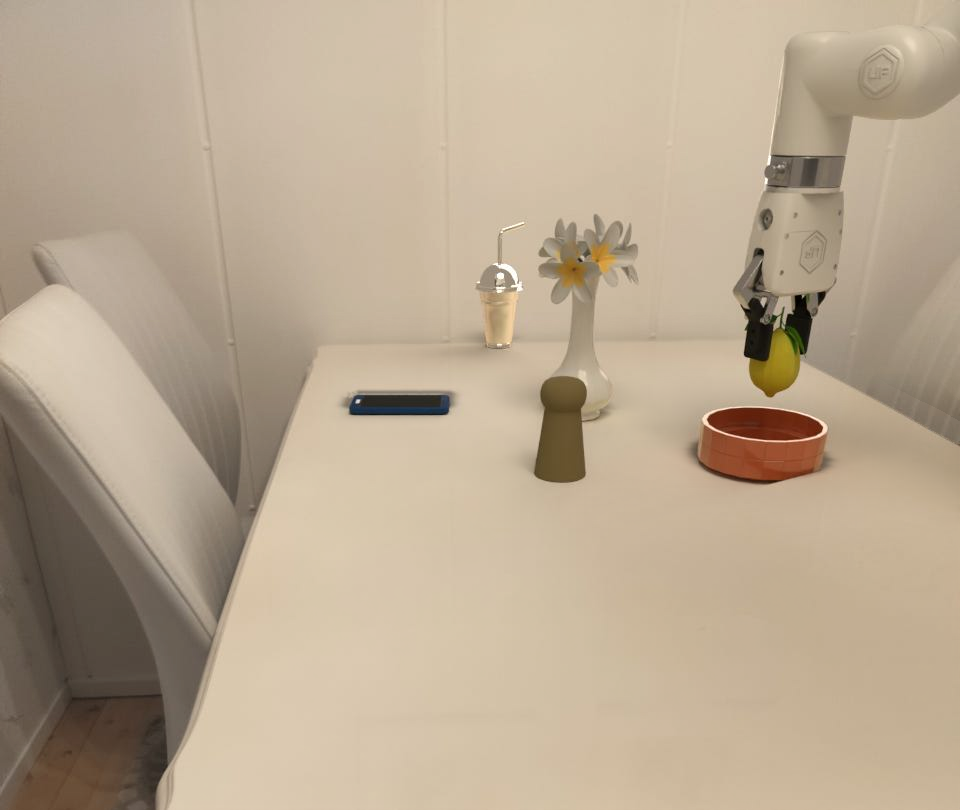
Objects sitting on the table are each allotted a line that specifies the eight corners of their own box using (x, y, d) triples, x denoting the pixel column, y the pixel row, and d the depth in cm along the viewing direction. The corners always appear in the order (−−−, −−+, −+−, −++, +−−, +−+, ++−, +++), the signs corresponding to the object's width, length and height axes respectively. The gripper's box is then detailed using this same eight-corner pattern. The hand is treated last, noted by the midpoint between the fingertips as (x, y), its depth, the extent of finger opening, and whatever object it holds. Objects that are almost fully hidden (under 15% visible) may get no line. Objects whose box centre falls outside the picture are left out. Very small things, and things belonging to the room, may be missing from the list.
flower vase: (526, 434, 120) (531, 225, 107) (539, 396, 135) (545, 210, 123) (626, 439, 118) (644, 227, 105) (628, 400, 134) (643, 212, 121)
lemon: (736, 389, 109) (748, 300, 104) (786, 389, 108) (800, 300, 103) (748, 405, 103) (761, 312, 98) (801, 405, 103) (817, 312, 98)
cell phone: (354, 399, 133) (354, 394, 133) (449, 399, 134) (449, 394, 133) (348, 414, 127) (348, 408, 127) (448, 414, 127) (448, 408, 127)
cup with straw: (471, 341, 168) (470, 222, 158) (519, 339, 169) (522, 221, 159) (479, 351, 161) (479, 227, 151) (530, 349, 162) (533, 226, 152)
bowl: (755, 439, 118) (761, 400, 116) (845, 470, 108) (854, 428, 105) (672, 458, 112) (677, 417, 109) (760, 493, 101) (767, 449, 99)
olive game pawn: (556, 486, 103) (561, 387, 98) (523, 471, 107) (525, 376, 102) (596, 475, 106) (603, 379, 101) (562, 461, 110) (567, 368, 105)
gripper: (773, 180, 88) (745, 372, 97) (888, 175, 95) (852, 353, 105) (716, 176, 93) (695, 358, 102) (830, 171, 101) (800, 340, 110)
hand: (775, 353), depth 103 cm, fingers closed on lemon, 5 cm apart
